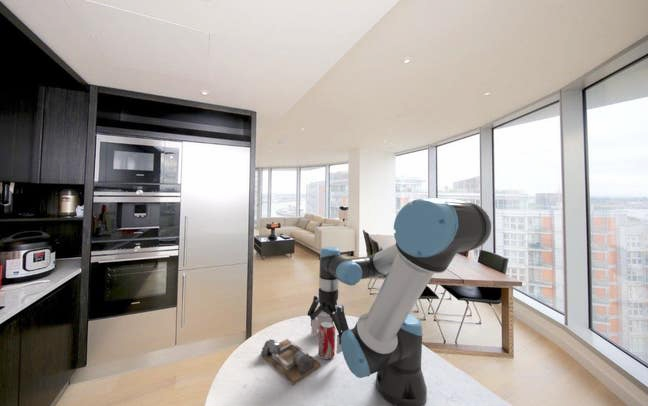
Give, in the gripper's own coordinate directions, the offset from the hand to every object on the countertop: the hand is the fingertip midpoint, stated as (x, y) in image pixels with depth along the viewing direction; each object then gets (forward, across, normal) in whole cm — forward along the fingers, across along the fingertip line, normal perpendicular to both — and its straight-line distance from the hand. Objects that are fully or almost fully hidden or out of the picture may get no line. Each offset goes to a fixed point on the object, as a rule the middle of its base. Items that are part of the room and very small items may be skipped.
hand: (326, 343), depth 88 cm
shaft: (+3, +13, +16) cm, 20 cm away
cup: (+5, +10, -10) cm, 15 cm away
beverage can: (+5, 0, 0) cm, 5 cm away
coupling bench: (+4, +6, +12) cm, 14 cm away
